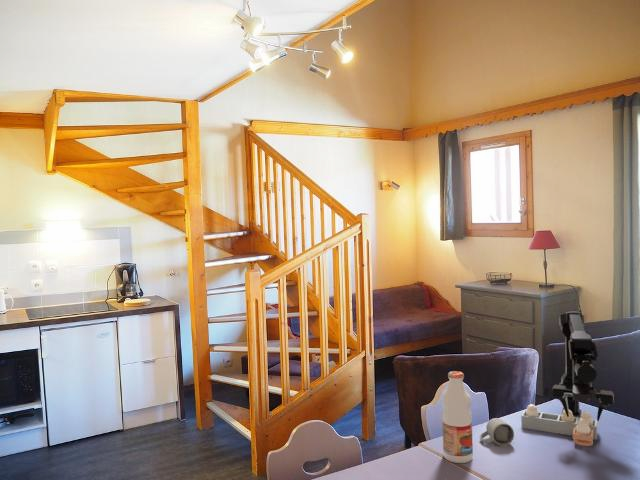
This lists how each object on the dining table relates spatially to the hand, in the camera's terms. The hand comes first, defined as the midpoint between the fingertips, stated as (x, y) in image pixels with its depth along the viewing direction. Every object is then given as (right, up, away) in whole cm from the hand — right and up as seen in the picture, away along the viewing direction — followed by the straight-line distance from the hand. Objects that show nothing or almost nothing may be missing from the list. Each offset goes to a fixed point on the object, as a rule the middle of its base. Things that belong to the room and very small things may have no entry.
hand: (582, 418), depth 179 cm
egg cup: (0, -8, 0) cm, 8 cm away
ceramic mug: (-29, -10, +3) cm, 30 cm away
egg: (0, -6, 0) cm, 6 cm away
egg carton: (-3, -8, +11) cm, 14 cm away
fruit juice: (-45, -10, -8) cm, 47 cm away
